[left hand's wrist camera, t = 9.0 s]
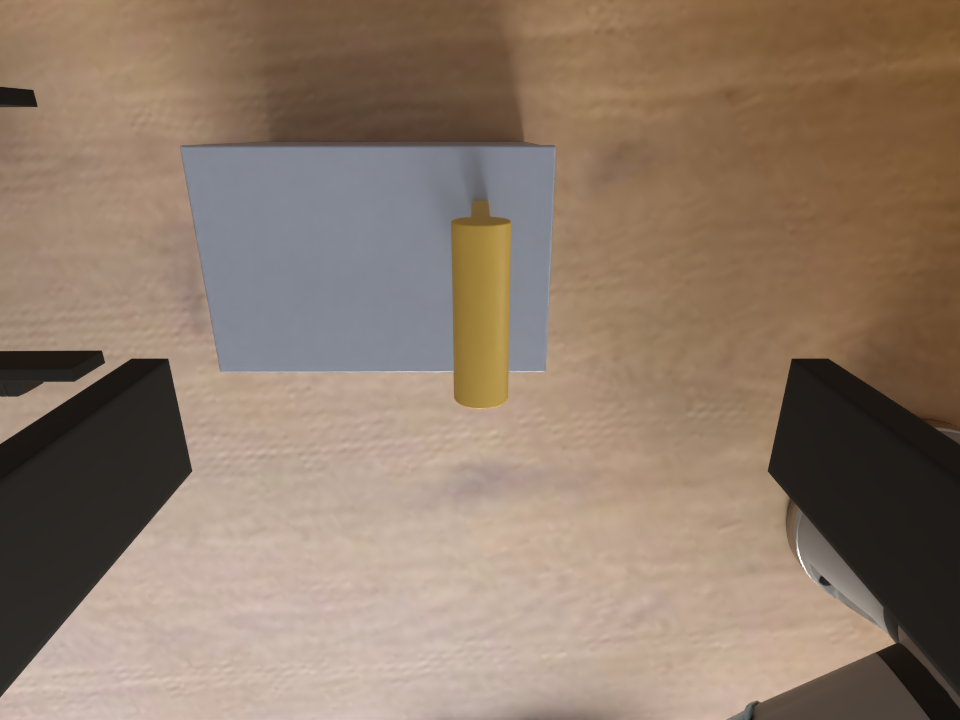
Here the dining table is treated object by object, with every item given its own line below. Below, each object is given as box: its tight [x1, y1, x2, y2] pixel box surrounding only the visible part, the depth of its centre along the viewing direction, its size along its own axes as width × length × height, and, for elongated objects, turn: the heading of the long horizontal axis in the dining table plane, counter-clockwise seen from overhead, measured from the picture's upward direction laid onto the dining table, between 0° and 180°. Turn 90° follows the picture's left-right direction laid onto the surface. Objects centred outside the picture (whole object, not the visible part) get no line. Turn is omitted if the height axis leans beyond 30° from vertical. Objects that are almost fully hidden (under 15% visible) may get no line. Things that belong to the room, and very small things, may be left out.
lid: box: [180, 145, 556, 409], centre depth 22 cm, size 16×10×9 cm, turn 90°
